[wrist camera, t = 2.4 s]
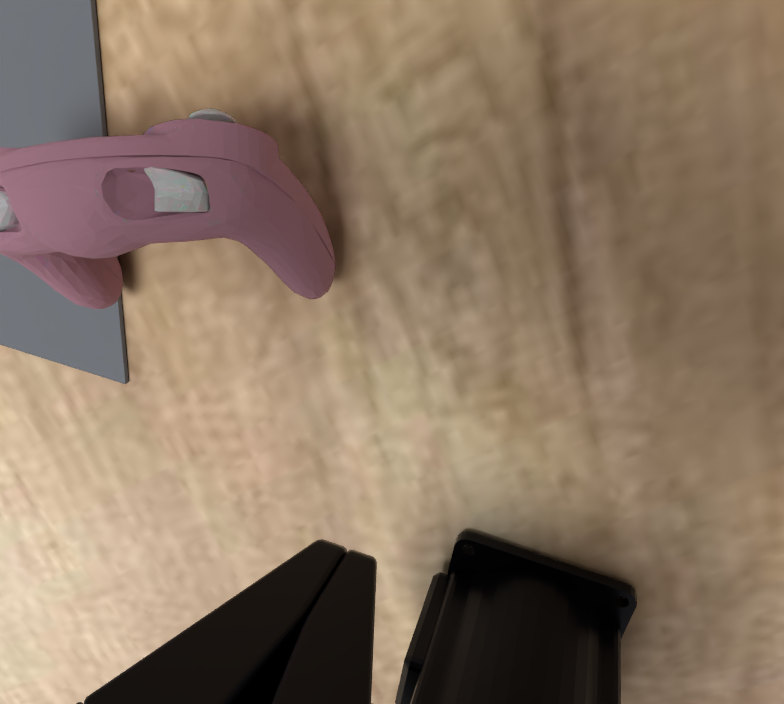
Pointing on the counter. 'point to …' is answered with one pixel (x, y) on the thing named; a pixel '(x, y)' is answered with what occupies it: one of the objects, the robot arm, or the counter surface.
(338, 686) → the robot arm
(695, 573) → the counter surface
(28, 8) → the mat
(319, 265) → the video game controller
